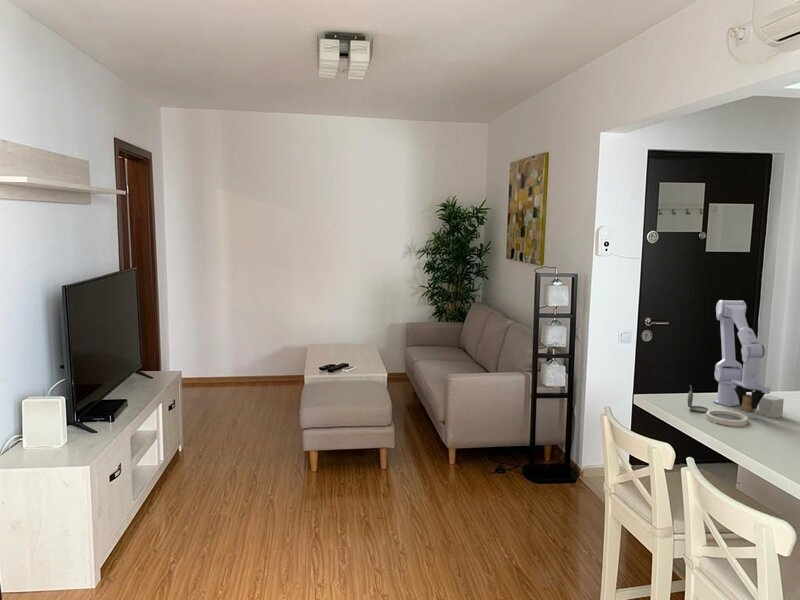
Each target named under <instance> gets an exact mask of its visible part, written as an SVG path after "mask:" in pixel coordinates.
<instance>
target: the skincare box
mask: <svg viewBox="0 0 800 600" xmlns="http://www.w3.org/2000/svg"><path fill="white" fill-rule="evenodd" d="M784 402H785V401H784V398H781V397H777V396H774V395H772V394H771V395H770V394H766V395H764V396H763V397H762V398H761V400H760V402H759V404H758V415H761V416H764V417H768V418H771V419H775V418H782V417H783V414H784Z"/></svg>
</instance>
